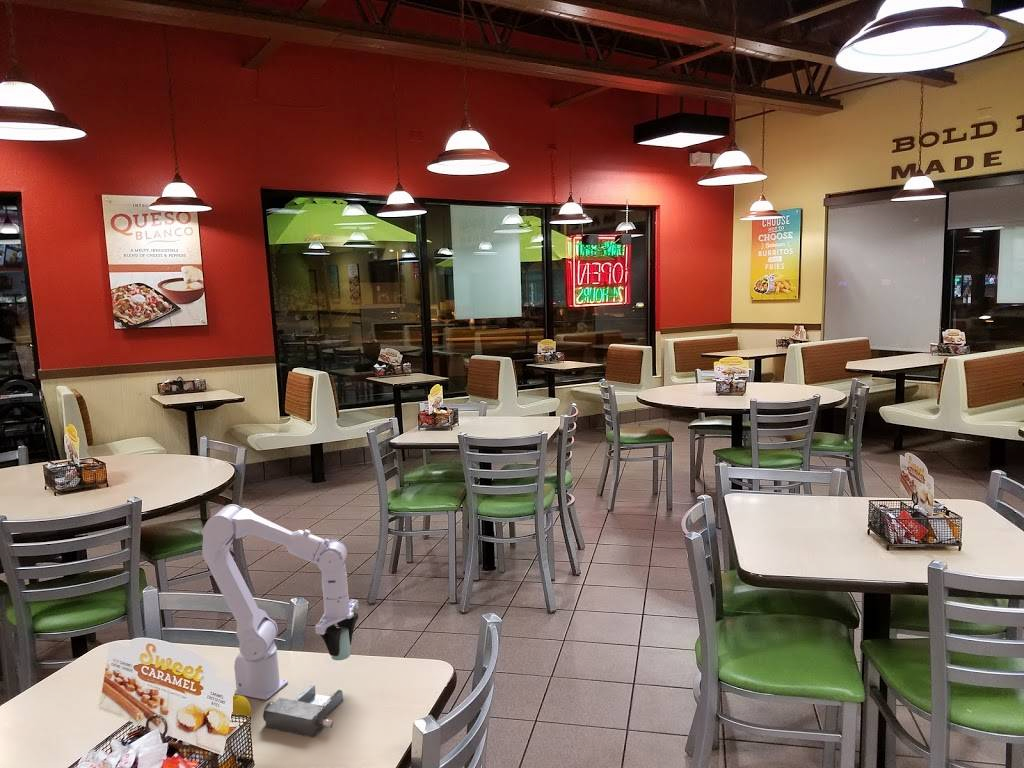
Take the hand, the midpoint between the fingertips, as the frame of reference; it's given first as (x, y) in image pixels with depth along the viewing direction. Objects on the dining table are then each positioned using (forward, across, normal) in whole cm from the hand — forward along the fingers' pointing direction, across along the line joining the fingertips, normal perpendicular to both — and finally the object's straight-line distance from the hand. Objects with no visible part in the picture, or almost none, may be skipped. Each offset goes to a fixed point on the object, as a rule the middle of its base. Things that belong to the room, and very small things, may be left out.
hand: (340, 649), depth 169 cm
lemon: (+9, -22, +11) cm, 26 cm away
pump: (+1, 0, 0) cm, 1 cm away
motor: (+8, -13, -1) cm, 16 cm away
